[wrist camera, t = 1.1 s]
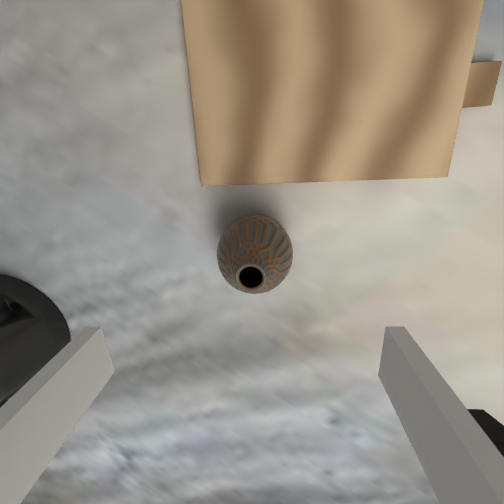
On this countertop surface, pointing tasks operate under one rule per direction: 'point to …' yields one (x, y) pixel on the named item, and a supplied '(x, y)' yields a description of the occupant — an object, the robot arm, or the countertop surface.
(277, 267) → the vase
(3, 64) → the countertop surface
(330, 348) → the countertop surface
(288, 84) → the board
